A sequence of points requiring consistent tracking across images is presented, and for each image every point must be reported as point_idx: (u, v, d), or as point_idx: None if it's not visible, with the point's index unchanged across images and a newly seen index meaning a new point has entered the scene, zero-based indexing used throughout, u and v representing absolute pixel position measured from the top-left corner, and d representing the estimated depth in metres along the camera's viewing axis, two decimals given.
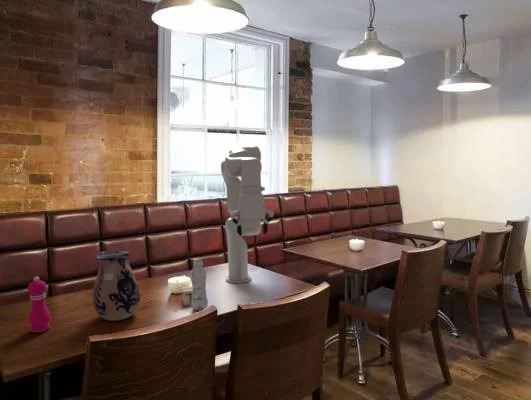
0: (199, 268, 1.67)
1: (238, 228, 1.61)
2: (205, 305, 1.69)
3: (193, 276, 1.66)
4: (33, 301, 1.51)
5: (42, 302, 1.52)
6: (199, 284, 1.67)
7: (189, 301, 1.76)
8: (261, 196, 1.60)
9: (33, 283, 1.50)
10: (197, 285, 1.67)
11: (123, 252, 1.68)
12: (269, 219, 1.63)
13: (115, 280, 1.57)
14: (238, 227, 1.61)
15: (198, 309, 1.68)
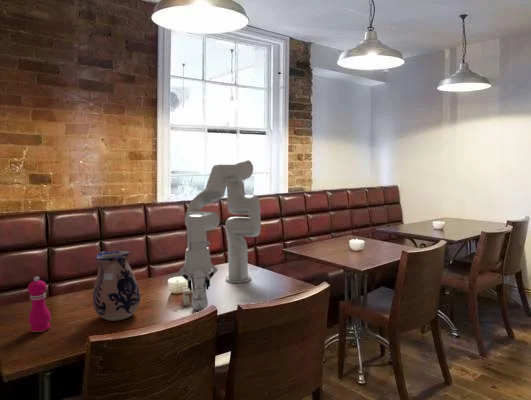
0: None
1: (188, 283, 1.68)
2: (205, 305, 1.69)
3: (193, 276, 1.66)
4: (33, 301, 1.51)
5: (42, 302, 1.52)
6: (200, 284, 1.67)
7: (189, 301, 1.76)
8: (206, 251, 1.67)
9: (33, 283, 1.50)
10: (197, 285, 1.67)
11: (123, 252, 1.68)
12: (211, 275, 1.69)
13: (115, 280, 1.57)
14: (188, 282, 1.68)
15: (198, 309, 1.68)
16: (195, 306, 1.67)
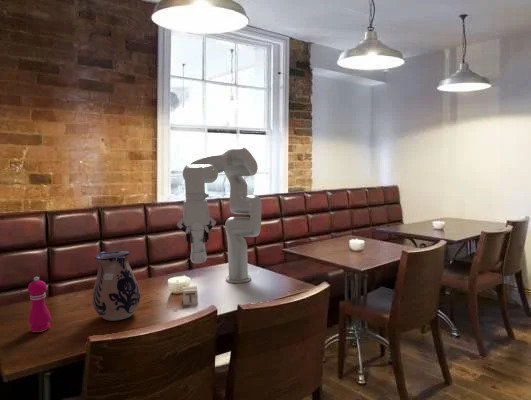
0: None
1: (187, 236, 1.66)
2: (204, 258, 1.67)
3: (192, 228, 1.64)
4: (33, 301, 1.51)
5: (42, 302, 1.52)
6: (198, 236, 1.65)
7: (189, 301, 1.76)
8: (205, 203, 1.65)
9: (33, 283, 1.50)
10: (196, 238, 1.65)
11: (123, 252, 1.68)
12: (210, 227, 1.68)
13: (115, 280, 1.57)
14: (187, 235, 1.66)
15: (197, 262, 1.66)
16: (194, 259, 1.66)
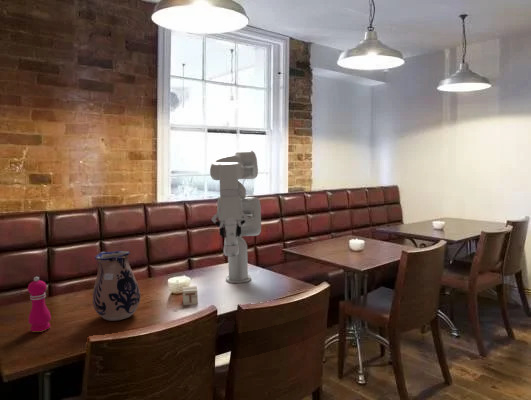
0: None
1: (220, 230, 1.73)
2: (237, 251, 1.74)
3: (226, 222, 1.72)
4: (33, 301, 1.51)
5: (42, 302, 1.52)
6: (232, 230, 1.72)
7: (189, 301, 1.76)
8: (238, 199, 1.72)
9: (33, 283, 1.50)
10: (230, 232, 1.72)
11: (123, 252, 1.68)
12: (242, 222, 1.75)
13: (115, 280, 1.57)
14: (220, 229, 1.73)
15: (230, 255, 1.73)
16: (227, 252, 1.73)
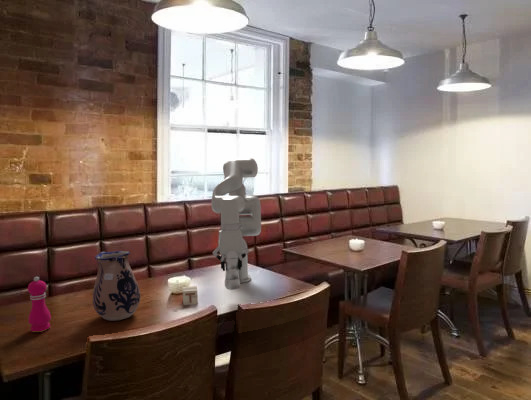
0: None
1: (222, 264, 1.75)
2: (238, 285, 1.76)
3: (227, 256, 1.73)
4: (33, 301, 1.51)
5: (42, 302, 1.52)
6: (233, 264, 1.74)
7: (189, 301, 1.76)
8: (239, 232, 1.74)
9: (33, 283, 1.50)
10: (231, 265, 1.74)
11: (123, 252, 1.68)
12: (243, 256, 1.76)
13: (115, 280, 1.57)
14: (222, 263, 1.75)
15: (231, 288, 1.75)
16: (228, 285, 1.74)
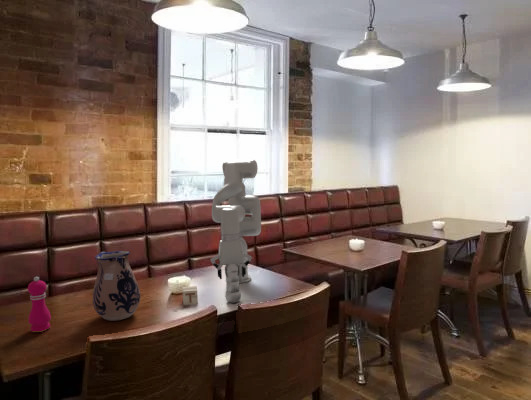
0: None
1: (218, 272, 1.75)
2: (238, 298, 1.77)
3: (227, 270, 1.74)
4: (33, 301, 1.51)
5: (42, 302, 1.52)
6: (233, 277, 1.75)
7: (189, 301, 1.76)
8: (239, 243, 1.74)
9: (33, 283, 1.50)
10: (231, 279, 1.75)
11: (123, 252, 1.68)
12: (247, 263, 1.77)
13: (115, 280, 1.57)
14: (218, 271, 1.75)
15: (232, 301, 1.76)
16: (229, 298, 1.75)
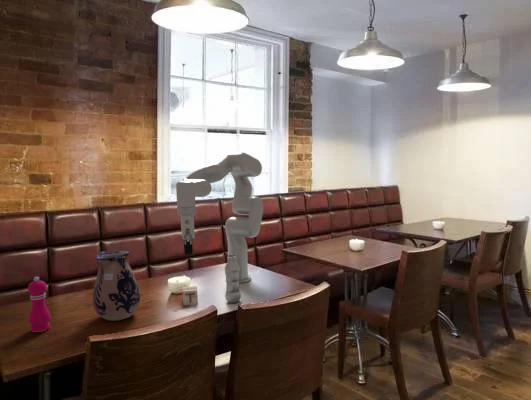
0: (233, 262, 1.75)
1: None
2: (238, 298, 1.77)
3: (227, 270, 1.74)
4: (33, 301, 1.51)
5: (42, 302, 1.52)
6: (233, 277, 1.75)
7: (189, 301, 1.76)
8: (181, 217, 1.71)
9: (33, 283, 1.50)
10: (231, 279, 1.75)
11: (123, 252, 1.68)
12: (186, 241, 1.69)
13: (115, 280, 1.57)
14: None
15: (232, 301, 1.76)
16: (229, 298, 1.75)
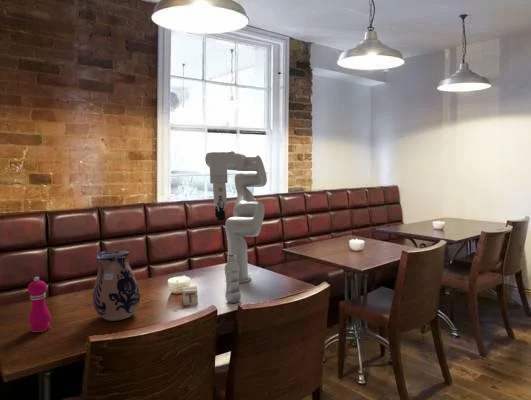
0: (233, 262, 1.75)
1: None
2: (238, 298, 1.77)
3: (227, 270, 1.74)
4: (33, 301, 1.51)
5: (42, 302, 1.52)
6: (233, 277, 1.75)
7: (189, 301, 1.76)
8: (214, 185, 1.79)
9: (33, 283, 1.50)
10: (231, 279, 1.75)
11: (123, 252, 1.68)
12: (219, 207, 1.77)
13: (115, 280, 1.57)
14: None
15: (232, 301, 1.76)
16: (229, 299, 1.75)
